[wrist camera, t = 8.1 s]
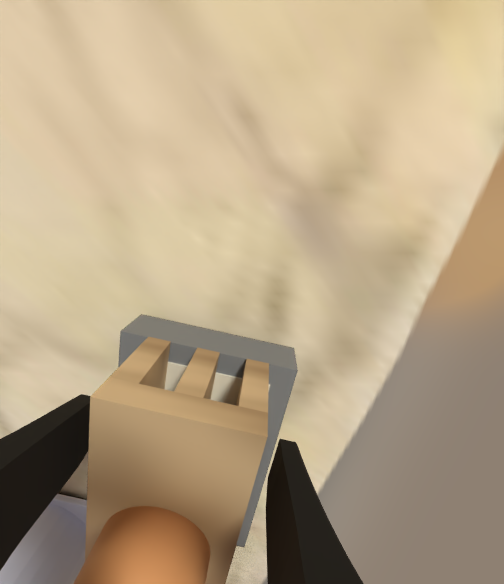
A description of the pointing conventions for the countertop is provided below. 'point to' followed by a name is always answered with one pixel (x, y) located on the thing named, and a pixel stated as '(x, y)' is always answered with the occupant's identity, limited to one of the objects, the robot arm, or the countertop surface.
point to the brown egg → (147, 550)
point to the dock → (222, 376)
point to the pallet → (176, 447)
